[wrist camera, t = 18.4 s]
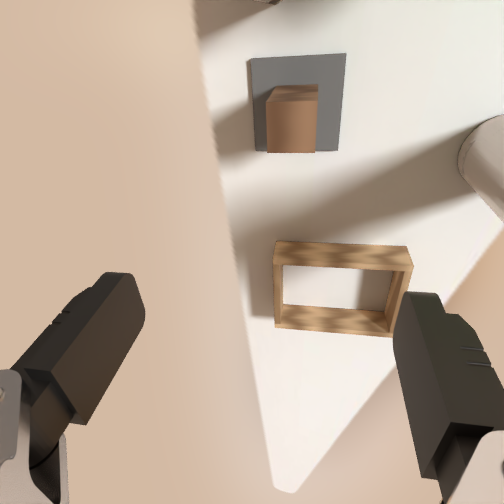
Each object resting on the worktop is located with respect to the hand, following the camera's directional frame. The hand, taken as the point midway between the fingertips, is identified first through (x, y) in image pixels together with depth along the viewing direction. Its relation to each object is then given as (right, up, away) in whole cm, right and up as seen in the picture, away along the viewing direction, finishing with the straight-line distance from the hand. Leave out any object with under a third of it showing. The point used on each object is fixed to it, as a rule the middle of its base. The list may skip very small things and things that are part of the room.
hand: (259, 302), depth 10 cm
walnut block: (+5, +20, +32) cm, 38 cm away
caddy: (+14, -3, +47) cm, 49 cm away
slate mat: (+5, +20, +32) cm, 38 cm away
